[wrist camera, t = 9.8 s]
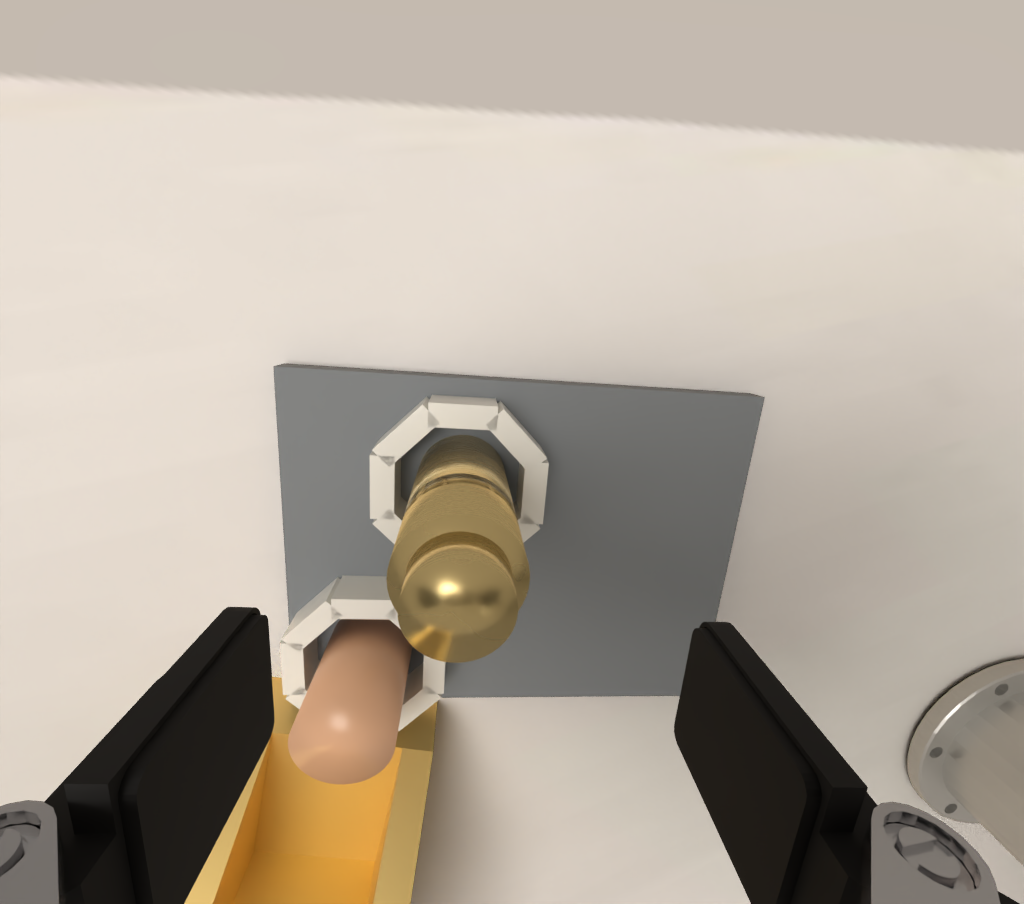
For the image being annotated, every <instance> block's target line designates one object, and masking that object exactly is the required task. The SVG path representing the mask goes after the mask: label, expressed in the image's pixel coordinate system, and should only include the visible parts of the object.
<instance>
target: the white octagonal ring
mask: <svg viewBox="0 0 1024 904" xmlns="http://www.w3.org/2000/svg"><path fill="white" fill-rule="evenodd" d="M435 427H437V428H456V429H475V430H490V431H491V432H492V433H493V434H494V435H495V436H496V438H497V439H498V440H499V441H500V442H501V443H502V444H503V445H504V446H505V447H506V448H507V450H508V451H509V452H510V453H511V454H512V455H513V456H514V457H515V458H516V459H517V461H518V462H519V473H518V486H517V498H516V501H515V502H514V503H513V505H514V508H515V512H516V516H517V520H518V524H519V528H520V532H521V536H522V540H523V543H524V542H525V541H526V540H527V539H529V538H530V537H531V536H532V535H534V534H535V533H536V532H537V531H538V530H540V527H539V524H543V518H544V508H545V498H546V488H547V478H548V468H549V463H548V461H547V457H546V455H545V453H544V451H543V450H542V448H541V446H540V445H539V444H538V443H537V441H536V440H535V439H534V438H533V437H532V436H531V435H530V434H529V432H528V431H527V430H526V429H525V428H524V427H523V426H522V425H521V423H520V422H519V421H518V420H517V419H516V418H515V417H514V415H513V414H512V413H511V412H510V411H509V410H508V409H507V408H506V406H505V405H504V404H503V403H502V402H501V401H500V402H499V403H497V401H496V398H480V397H463V396H446V395H432V396H431V398H430V399H429V398H428V397H426V398H424V399H423V400H422V401H421V402H420V403H419V404H418V405H417V406H416V407H414V408H413V409H412V410H411V411H410V412H409V413H408V414H407V415H406V416H404V417H403V418H402V419H401V420H400V421H399V422H398V423H397V424H396V425H394V426H393V427H392V428H391V429H390V430H389V431H388V432H387V433H386V434H384V435H383V436H382V437H381V438H380V439H379V441H378V442H377V444H376V445H375V446H374V448H373V449H372V452H371V454H370V519H374V521H373V523H372V524H373V525H374V526H375V527H376V528H377V529H378V530H379V531H381V532H382V533H383V534H384V535H385V536H386V537H387V538H388V539H389V540H390V541H391V542H392V543H394V544H395V542H396V539H397V535H398V532H399V529H400V526H401V523H402V519H403V516H404V513H405V510H406V507H407V502H406V501H405V500H404V499H403V498H402V497H401V457H402V456H403V455H404V454H405V453H406V452H407V451H409V450H410V449H411V448H412V447H413V446H414V445H415V444H417V443H418V442H419V441H420V440H421V439H422V438H423V437H424V436H426V435H427V434H428V433H429V432H430V431H431V430H432V429H433V428H435Z"/></svg>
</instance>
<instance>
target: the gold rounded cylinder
mask: <svg viewBox="0 0 1024 904" xmlns="http://www.w3.org/2000/svg"><path fill="white" fill-rule="evenodd" d="M386 580H387V590H388V594H389V597H390V600H391V602H392V605H393V606H394V608H395V610H396V611H397V614H398V622H399V626H400V628H401V631H402V633H403V635H404V637H405V638H406V640H407V641H408V642H409V643H410V644H411V645H412V646H413V647H414V648H415V649H416V650H417V651H419V652H420V653H422V654H424V655H425V656H427V657H430V658H432V659H435V660H438V661H442V662H449V663H462V662H469V661H474V660H477V659H480V658H482V657H485V656H487V655H489V654H490V653H492V652H494V651H495V650H496V649H498V648H499V647H500V646H501V645H502V644H503V643H504V642H505V641H506V640H507V639H508V637H509V636H510V634H511V633H512V631H513V629H514V627H515V624H516V621H517V616H518V611H519V609H520V608H521V606H522V605H523V603H524V600H525V598H526V596H527V593H528V589H529V583H530V569H529V563H528V559H527V555H526V552H525V548H524V544H523V540H522V536H521V532H520V528H519V524H518V520H517V516H516V512H515V508H514V505H513V501H512V497H511V493H510V489H509V485H508V481H507V477H506V473H505V469H504V466H503V462H502V460H501V458H500V456H499V454H498V453H497V451H496V450H495V449H494V448H493V447H492V446H491V445H490V444H488V443H487V442H486V441H484V440H482V439H480V438H477V437H474V436H470V435H453V436H449V437H446V438H443V439H441V440H439V441H438V442H436V443H435V444H433V445H432V446H431V447H430V448H429V449H428V450H427V452H426V453H425V454H424V456H423V458H422V460H421V462H420V465H419V468H418V472H417V475H416V478H415V481H414V484H413V488H412V491H411V494H410V497H409V500H408V503H407V507H406V510H405V513H404V516H403V519H402V523H401V526H400V529H399V532H398V535H397V539H396V542H395V545H394V548H393V551H392V555H391V558H390V561H389V565H388V569H387V579H386Z"/></svg>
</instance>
